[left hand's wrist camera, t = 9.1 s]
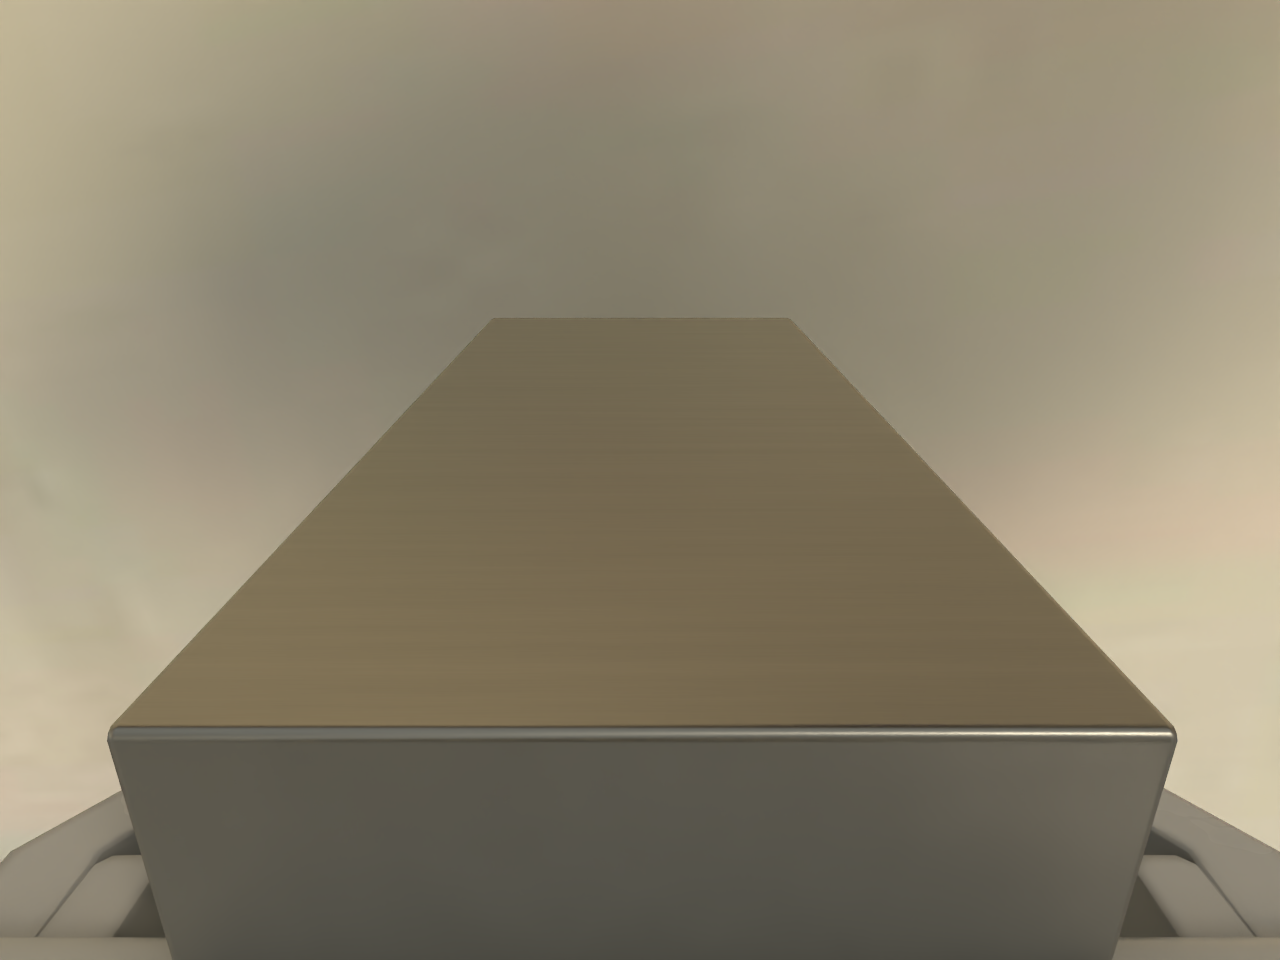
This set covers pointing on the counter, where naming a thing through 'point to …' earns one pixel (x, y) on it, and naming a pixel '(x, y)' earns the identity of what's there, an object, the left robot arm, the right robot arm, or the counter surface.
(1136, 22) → the counter surface
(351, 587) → the box
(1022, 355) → the counter surface
